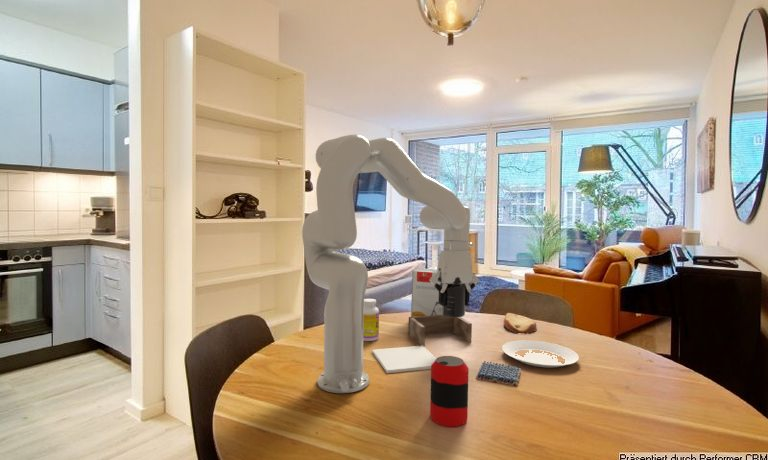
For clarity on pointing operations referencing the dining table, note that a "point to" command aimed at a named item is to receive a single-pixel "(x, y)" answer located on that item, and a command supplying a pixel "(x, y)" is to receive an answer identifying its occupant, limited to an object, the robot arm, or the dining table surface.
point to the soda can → (449, 391)
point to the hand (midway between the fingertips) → (453, 304)
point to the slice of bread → (519, 323)
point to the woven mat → (499, 373)
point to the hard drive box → (424, 294)
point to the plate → (540, 358)
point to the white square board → (404, 358)
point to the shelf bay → (438, 327)
